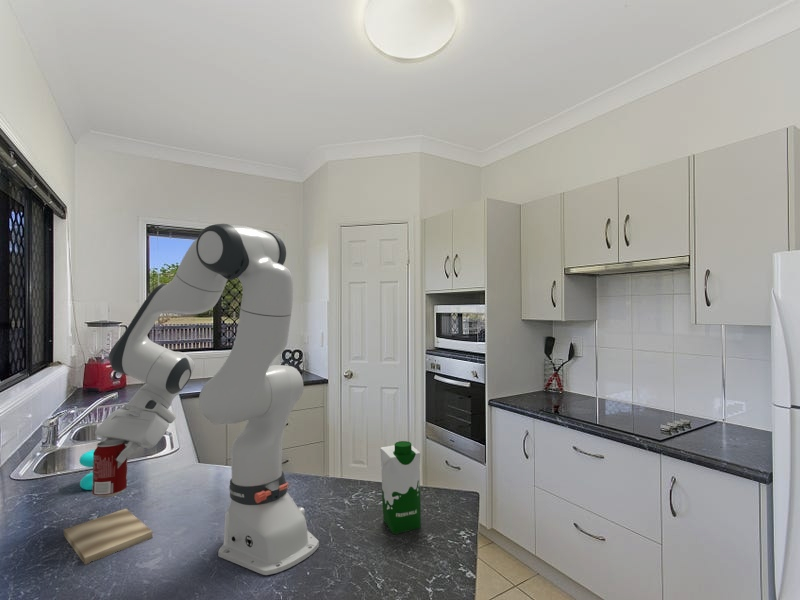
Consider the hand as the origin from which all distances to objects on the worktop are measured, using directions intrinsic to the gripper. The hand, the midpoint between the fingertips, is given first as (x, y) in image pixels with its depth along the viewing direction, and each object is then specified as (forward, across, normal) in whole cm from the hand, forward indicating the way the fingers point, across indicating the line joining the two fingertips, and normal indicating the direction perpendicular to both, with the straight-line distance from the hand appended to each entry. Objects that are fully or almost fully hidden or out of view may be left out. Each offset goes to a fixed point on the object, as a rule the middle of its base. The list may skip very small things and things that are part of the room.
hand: (107, 459), depth 101 cm
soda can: (+6, 0, +6) cm, 8 cm away
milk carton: (-9, +61, +36) cm, 72 cm away
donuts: (+1, -34, +24) cm, 41 cm away
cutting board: (+13, 0, +12) cm, 18 cm away
